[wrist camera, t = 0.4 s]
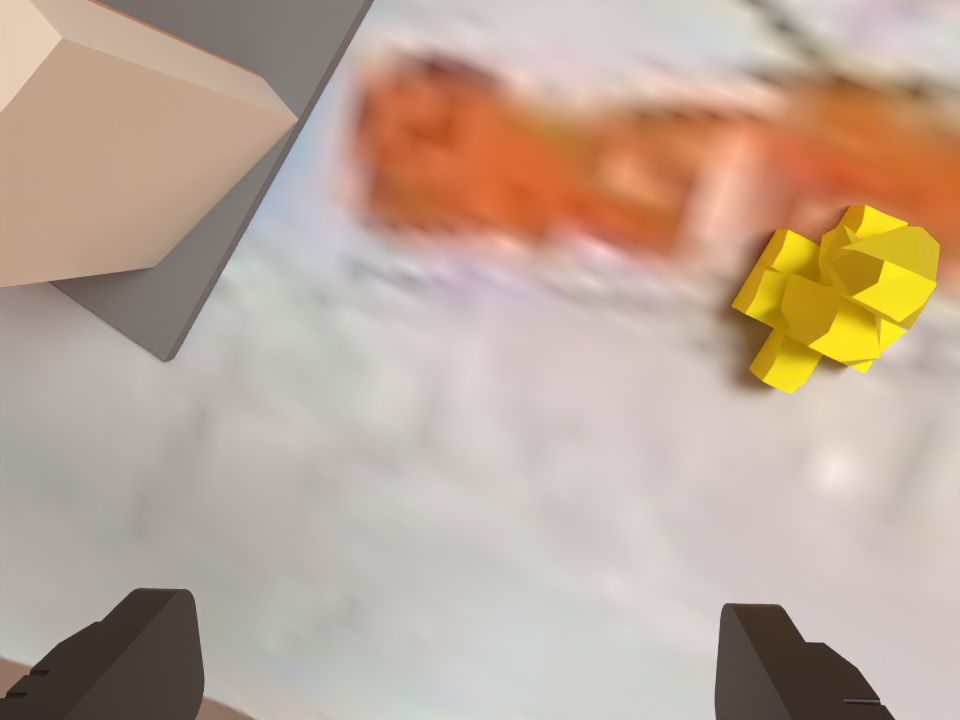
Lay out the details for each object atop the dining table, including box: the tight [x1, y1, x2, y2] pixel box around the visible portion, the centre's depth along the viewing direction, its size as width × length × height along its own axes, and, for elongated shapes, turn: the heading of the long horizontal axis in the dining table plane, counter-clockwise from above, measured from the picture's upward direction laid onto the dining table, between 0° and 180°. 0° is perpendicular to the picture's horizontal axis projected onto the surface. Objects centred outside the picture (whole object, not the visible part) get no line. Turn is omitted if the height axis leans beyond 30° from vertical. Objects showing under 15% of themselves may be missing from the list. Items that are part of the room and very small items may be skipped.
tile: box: [0, 0, 298, 288], centre depth 23 cm, size 10×2×14 cm, turn 131°
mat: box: [48, 0, 374, 362], centre depth 30 cm, size 22×18×1 cm
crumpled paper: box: [731, 205, 940, 394], centre depth 25 cm, size 6×8×8 cm
